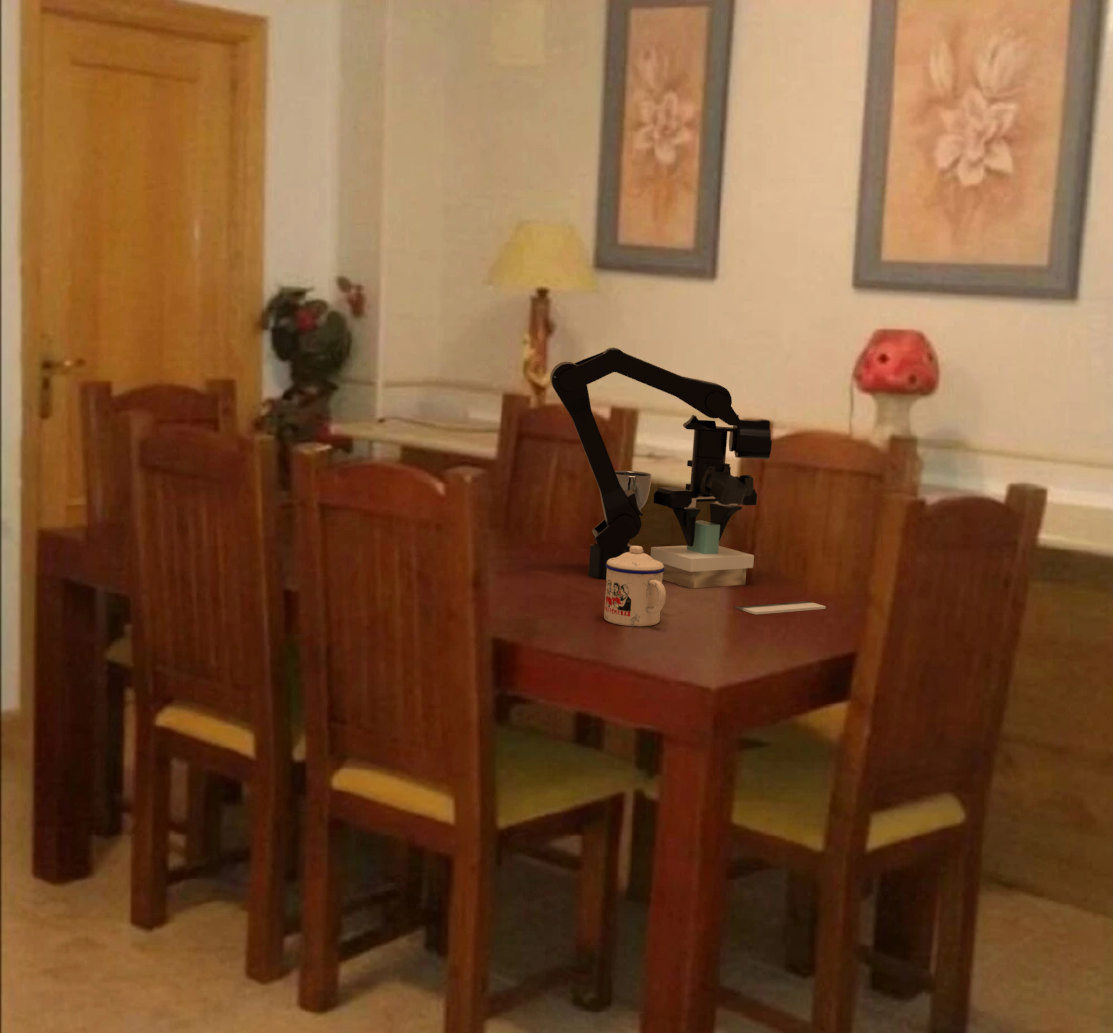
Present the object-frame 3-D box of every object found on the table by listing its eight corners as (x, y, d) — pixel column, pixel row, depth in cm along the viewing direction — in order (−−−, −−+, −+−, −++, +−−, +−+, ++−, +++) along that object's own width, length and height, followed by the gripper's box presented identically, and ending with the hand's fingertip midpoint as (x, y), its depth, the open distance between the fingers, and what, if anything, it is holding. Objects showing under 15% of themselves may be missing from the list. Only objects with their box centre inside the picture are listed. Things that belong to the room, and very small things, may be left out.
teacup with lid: (590, 617, 254) (595, 542, 252) (637, 612, 259) (641, 540, 257) (637, 633, 244) (642, 556, 242) (684, 628, 249) (690, 553, 247)
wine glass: (652, 549, 320) (657, 473, 318) (637, 555, 313) (642, 477, 310) (614, 544, 323) (619, 469, 321) (598, 550, 316) (603, 472, 314)
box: (689, 592, 278) (691, 563, 277) (655, 581, 286) (657, 553, 285) (744, 588, 284) (747, 560, 284) (709, 578, 293) (711, 550, 292)
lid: (690, 571, 276) (693, 529, 275) (650, 559, 286) (652, 518, 285) (753, 567, 284) (756, 526, 282) (711, 556, 293) (714, 516, 292)
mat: (755, 614, 263) (755, 612, 263) (701, 597, 274) (702, 595, 274) (825, 608, 271) (825, 606, 271) (770, 592, 282) (771, 590, 282)
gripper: (694, 463, 270) (687, 556, 273) (781, 461, 280) (774, 551, 283) (654, 454, 279) (648, 544, 282) (739, 453, 290) (733, 540, 292)
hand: (702, 545), depth 284 cm, fingers open, 5 cm apart
